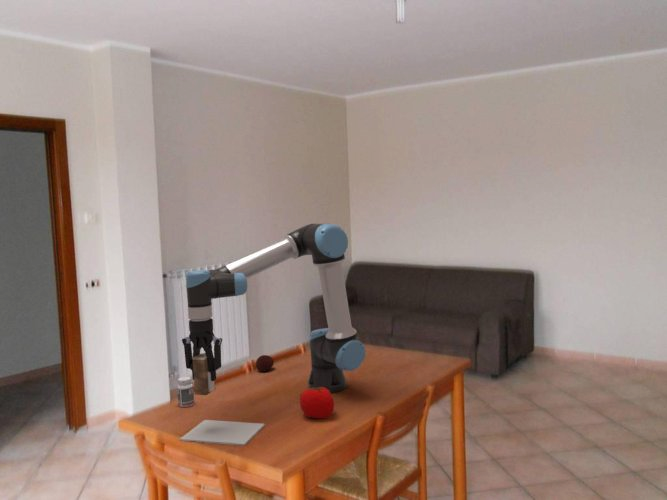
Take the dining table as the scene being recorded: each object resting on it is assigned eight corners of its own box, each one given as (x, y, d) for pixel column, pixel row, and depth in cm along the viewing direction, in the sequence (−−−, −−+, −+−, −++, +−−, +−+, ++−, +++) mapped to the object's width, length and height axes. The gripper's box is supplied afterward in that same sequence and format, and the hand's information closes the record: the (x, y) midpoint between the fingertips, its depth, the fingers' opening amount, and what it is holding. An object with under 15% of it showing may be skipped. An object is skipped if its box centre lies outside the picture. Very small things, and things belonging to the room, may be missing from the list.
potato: (278, 368, 258) (277, 353, 257) (265, 374, 251) (265, 358, 250) (265, 366, 262) (264, 351, 261) (252, 372, 254) (251, 356, 254)
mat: (265, 425, 193) (264, 423, 193) (244, 445, 177) (244, 443, 177) (205, 421, 199) (204, 419, 199) (179, 440, 184) (179, 438, 184)
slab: (215, 389, 192) (213, 353, 191) (206, 395, 186) (203, 358, 185) (204, 388, 193) (201, 352, 192) (194, 394, 187) (192, 357, 186)
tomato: (325, 424, 191) (323, 394, 190) (293, 418, 198) (291, 388, 197) (343, 413, 200) (341, 384, 200) (312, 407, 207) (310, 379, 206)
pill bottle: (197, 402, 218) (195, 376, 217) (188, 408, 213) (187, 381, 212) (184, 401, 220) (182, 375, 219) (175, 406, 215) (173, 380, 214)
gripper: (230, 316, 189) (234, 387, 191) (183, 316, 194) (187, 385, 196) (219, 321, 182) (223, 395, 184) (170, 320, 186) (175, 392, 188)
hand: (205, 389), depth 190 cm, fingers closed on slab, 4 cm apart
